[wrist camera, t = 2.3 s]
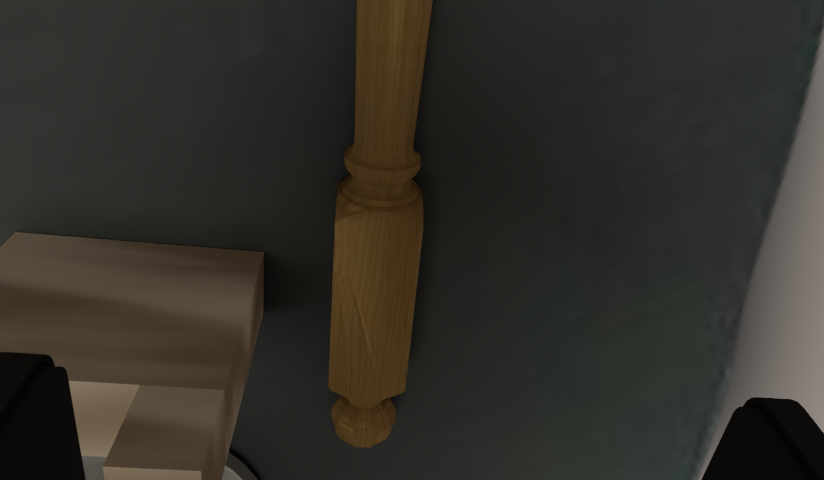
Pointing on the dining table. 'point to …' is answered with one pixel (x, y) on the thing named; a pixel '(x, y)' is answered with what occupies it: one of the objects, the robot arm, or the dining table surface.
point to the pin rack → (139, 344)
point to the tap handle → (378, 223)
